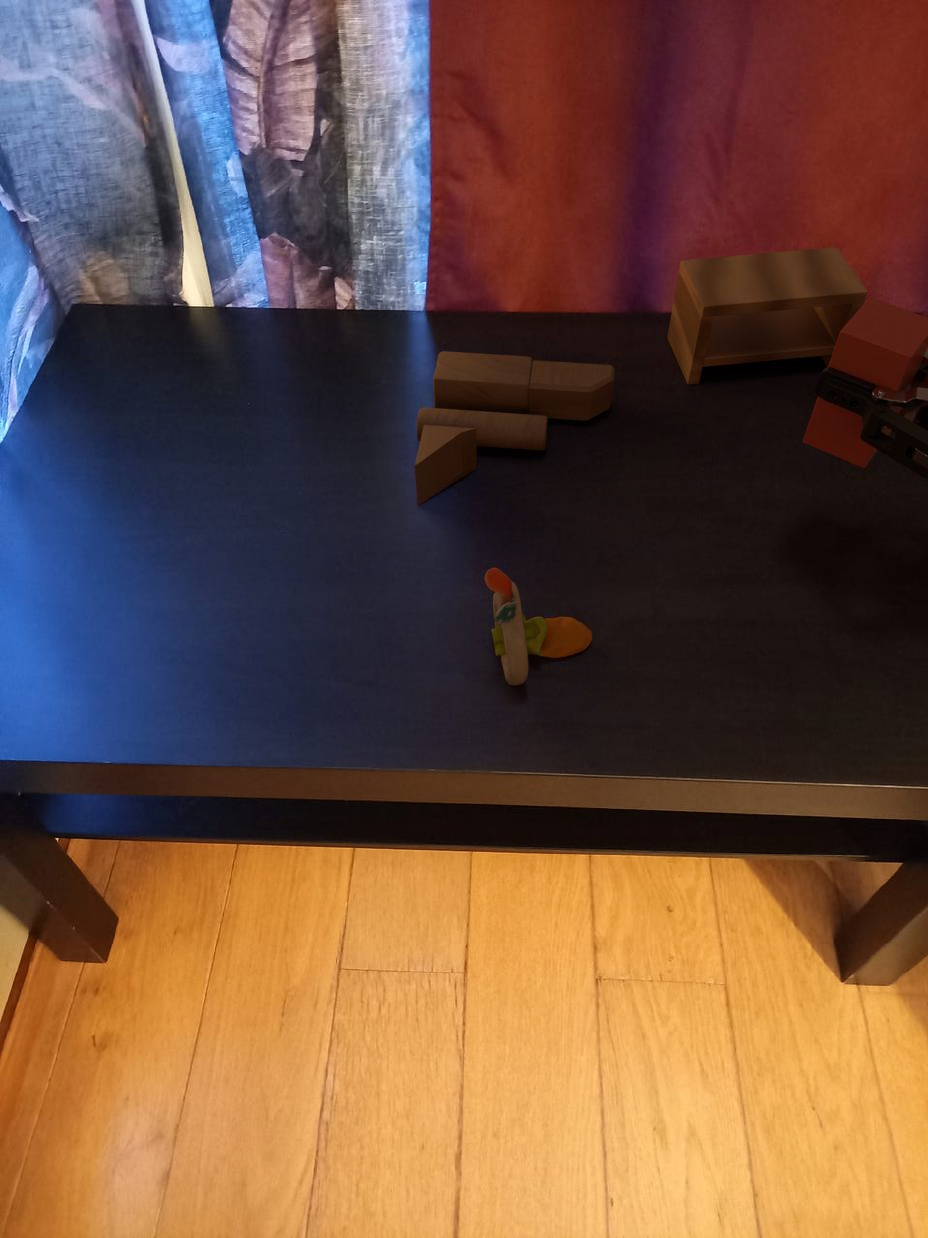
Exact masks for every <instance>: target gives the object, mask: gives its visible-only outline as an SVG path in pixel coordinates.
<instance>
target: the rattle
mask: <svg viewBox="0 0 928 1238" xmlns="http://www.w3.org/2000/svg"><path fill="white" fill-rule="evenodd" d="M484 582H485V585H486V586H487V588H488V589H489V590H490V591H492V592H494V593H493V596H492V607H493V609H492V611H493V618H494V619H493V620H494V628H492V629H491V634H492V639H493V647H494V653H495V656H496V657H497V658H500V661H501V665H502V669H503V674H504V679H505V681H506V683H507V684H508V685H510V686H519V685H522V684H524V683H525V681H526V680H527V678H528V675H529V655H536V656H539V657H547V658H551V659H557V658H565V657H570V656H573V655H576V654H579V653H581V652H583V651H585V650H586V649H587V648H588V647H589V646H590V644H591V642H592V640H593V631H592V630H591V629H589V628H588V627H587V625H585V624H584V623H583V622H581V621H578V620H577V619H576V618H574V617H571V616H557V617H546V618H544V617H543V616H535V617H532V618H529V619H528V620H527V618H526V616H525V615H524V614H523V610H522V603H521V597H520V592H519V588H518V587H517V584H516V583H515V582H514V581H512V580H511V578H510V577H509V576H508V575H507V574H506V573H504V572H503V571H502V570H500V569H499V568H498V567H491V568H489V569H488V570H486V573H485V574H484Z"/></svg>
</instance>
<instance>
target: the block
mask: <svg viewBox="0 0 928 1238" xmlns="http://www.w3.org/2000/svg"><path fill="white" fill-rule="evenodd" d="M927 348H928V316H924V315H921V314H918V313H915V312H912V311H910V310H907V309H904V308H901V307H898V306H896V305H893V304H890V303H888V302H885V301H882V300H879V299H876V298H873V297H868V298H867V300H865V302H864V304H863V306H862V307H861V308H860V309H859V310H858V311H857V313H856V314H855V315H854V316H853V317H852V318H851V319H850V321H849V322H848V323H847V324H846V325H845V326H844V328H843V329H842V330H841V331H840V334H839V336H838V339H837V342H836V345H835V348H834V351H833V354H832V357H831V360H830V363H829V366H828V367H832V368H835V369H837V370H840V371H843V372H845V373H848V374H850V375H853V376H856V377H858V378H861V379H863V380H866V381H868V382H871V383H874V384H876V385H875V388H878V387H881V388H888V389H893V390H895V391H898V390H900V391H909V390H910V389H911V387H912V385H913V384H912V382H913V380H914V378H915V376H916V373H917V371H918V369H919V366H920V364H921V361H922V359H923V357H924V355H925V352H926V350H927ZM875 388H874V389H875ZM888 408H889V409H891V410H893V411H895V412H896V413H900V412H901V410H902V408H903V407H897V406H891V405H888ZM862 429H863V421H862V417H861V416H860V415H858V414H856V413H854V412H852V411H849V410H847V409H844V408H842V407H839V406H837V405H834V404H833V403H829V402H827V401H825V400H823V399H822V398H821V397H819V396H817V397H816V400H815V404H814V406H813V409H812V412H811V415H810V419H809V422H808V424H807V427H806V430H805V433H804V436H803V439H802V443H803V444H806V445H808V446H810V447H813V448H814V449H818V450H819V451H821V452H825V453H827V454H829V455H832V456H833V457H836V458H839V459H841V460H842V461H845V462H848V463H850V464H853V465H855V466H857V467H859V468H862V469H865V468H866V467H867V466H868V464H869V463H870V462H871V460H872V459H873V458H874V456H875V455H876V454H877V452H878V451H879V450H877V449H876V448H874V447H872V446H871V445H869V444H868V443H866V442H864V441H863V440H862V439H861V438H860V434H861V432H862ZM882 432H883V433H884V434H886V435H888V436H890V435H891V433H892V432H893V431H892V430H890V429H887V428H883V429H882Z"/></svg>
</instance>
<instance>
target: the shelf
mask: <svg viewBox="0 0 928 1238" xmlns="http://www.w3.org/2000/svg"><path fill="white" fill-rule="evenodd" d="M868 294H869V291H868V289H867V288H866V287H865V285H864V284H863V282H862V281H861V279H860V277H859V276H858V274H857V273H856V272H855V271H854V270H853V268H852V266H851V265H850V263H849V262H848V260H847V259H846V257H844V255H843V253H842V252H841V251H840V249H839V248H838V246H834V247H821V248H808V249H798V250H787V251H786V250H785V251H776V252H765V253H752V254H751V253H750V254H740V255H730V256H717V257H716V256H715V257H706V258H695V259H694V258H693V259H684V260H680V263H679V270H678V275H677V281H676V287H675V291H674V297H673V298H674V299H673V304H672V308H671V309H672V310H671V315H670V319H669V326H668V331H667V338H666V339H667V341H668V343H669V345H670V348H671V349H672V352H673V354H674V358H675V359H676V361H677V363H678V366H679V368H680V370H681V373H682V375H683V378H684V380H685V382H686V384H687V385H689V386H690V385H698V384H700V380H701V376H702V371H703V368H706V367H707V368H708V367H718V366H728V365H737V364H738V365H739V364H749V363H760V362H767V361H768V362H769V361H770V362H771V361H781V360H791V359H800V358H801V359H802V358H813V357H820V358H821V360H822V362H823V363H824V365H825V368H826V367H828V366H829V363H830V360H831V357H832V354H833V351H834V348H835V345H836V342H837V339H838V336H839V334H840V331H841V330H842V329H843V328H844V326H845V325H846V324H847V323H848V322H849V321H850V319H851V318H852V317H853V316H854V315H855V314H856V313H857V311H858V310H859V309H860V308H861V307H862V306H863V304H864V303H865V302H866V299H867V296H868Z"/></svg>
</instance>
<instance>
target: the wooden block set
mask: <svg viewBox="0 0 928 1238" xmlns="http://www.w3.org/2000/svg"><path fill="white" fill-rule="evenodd" d="M435 365H436V366H435V368H434V374H433V377H432V383H433V384H432V385H433V389H432V390H433V407H425V406H423V407H420V408H419V410H418V413H417V417H416V418H417V419H416V438H417V441H418V442H419V444H418V449H417V453H416V458H415V463H414V474H415V476H414V477H415V478H414V479H415V490H416V491H415V492H416V503H417V506H420V504H421V505H422V503H424V502H426V501H427V500H428V499H430V498H432V497H433V496H435V495H437V494H438V493H440V492H442V491H443V490H445V489H447V488H448V487H449V486H451V485H452V484H454V483H456V482H457V481H459V480H461V479H463V478H464V477H465V476H467V475H469V474H470V473H472V472H473V471H475V470H477V465H478V464H477V462H478V461H477V459H478V458H477V453H478V452H477V449H478V447H485V448H486V447H487V448H499V449H500V448H501V449H513V450H514V449H515V450H527V451H528V450H529V451H541V452H542V451H545V449H546V448H547V447H546V445H547V436H548V435H547V434H548V423H549V421H548V420H549V419H552V420H565V421H578V422H579V421H580V422H587V421H589V420H591V419H594V418H595V417H597V416H599V415H600V414H602V413H604V412H606V411H608V410H609V409H610V407H611V405H612V396H613V389H614V382H615V367H614V366H613V365H612V364H601V363H599V364H598V363H584V362H583V363H582V362H568V361H567V362H566V361H554V360H553V361H550V360H538V359H537V360H535V359H532V357H531V356H526V355H510V354H494V353H493V354H492V353H477V352H463V351H462V352H459V351H445V350H442V351H440V352H439V354H438V356H437V360H436V364H435Z"/></svg>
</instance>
